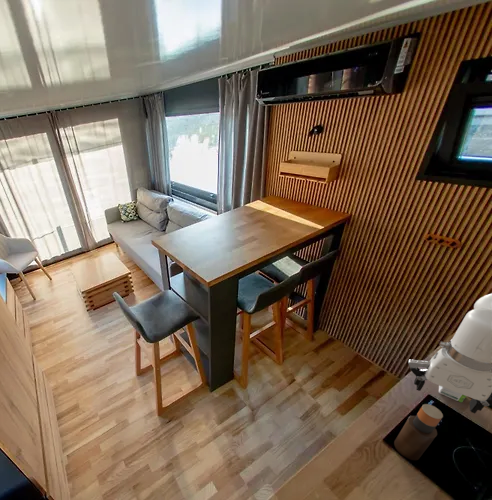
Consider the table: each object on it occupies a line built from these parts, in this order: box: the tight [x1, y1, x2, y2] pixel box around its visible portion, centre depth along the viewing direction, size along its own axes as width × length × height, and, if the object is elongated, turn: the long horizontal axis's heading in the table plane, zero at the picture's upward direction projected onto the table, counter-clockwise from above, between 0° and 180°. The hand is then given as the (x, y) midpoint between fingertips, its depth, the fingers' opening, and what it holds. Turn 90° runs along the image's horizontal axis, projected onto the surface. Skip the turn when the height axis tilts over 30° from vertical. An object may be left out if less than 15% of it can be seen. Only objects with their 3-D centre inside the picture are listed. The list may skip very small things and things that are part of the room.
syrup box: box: [438, 385, 467, 403], centre depth 91 cm, size 6×6×14 cm
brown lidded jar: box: [393, 415, 438, 461], centre depth 79 cm, size 6×6×14 cm
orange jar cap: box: [416, 403, 444, 427], centre depth 72 cm, size 4×4×4 cm
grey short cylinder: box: [413, 414, 438, 434], centre depth 74 cm, size 4×4×4 cm
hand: (443, 396), depth 68 cm, fingers open, 9 cm apart
